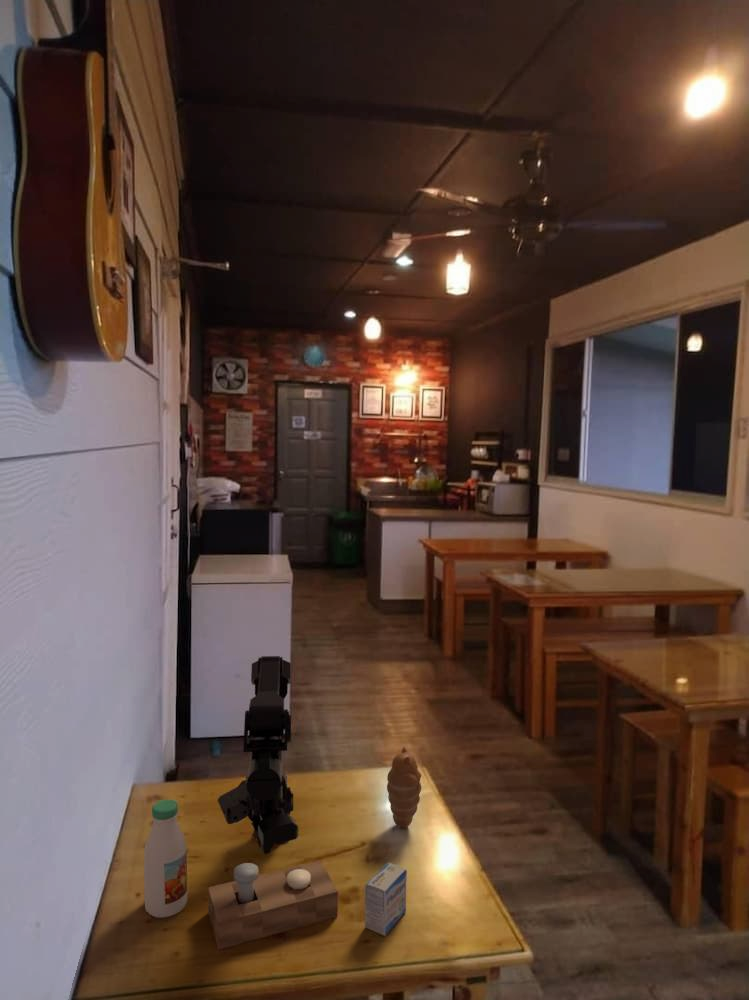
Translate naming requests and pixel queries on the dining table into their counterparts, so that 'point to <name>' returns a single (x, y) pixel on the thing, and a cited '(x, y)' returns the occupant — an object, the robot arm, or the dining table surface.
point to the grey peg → (246, 881)
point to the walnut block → (271, 906)
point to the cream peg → (298, 879)
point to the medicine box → (385, 898)
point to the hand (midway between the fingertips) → (266, 852)
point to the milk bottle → (165, 862)
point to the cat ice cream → (403, 788)
